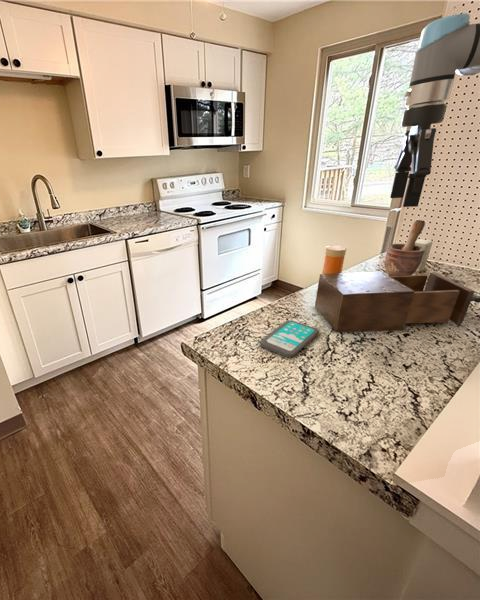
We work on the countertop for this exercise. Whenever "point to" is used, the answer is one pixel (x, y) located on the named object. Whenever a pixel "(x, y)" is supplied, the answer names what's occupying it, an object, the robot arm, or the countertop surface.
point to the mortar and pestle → (405, 254)
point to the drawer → (437, 298)
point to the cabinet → (363, 301)
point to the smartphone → (289, 338)
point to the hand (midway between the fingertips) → (402, 202)
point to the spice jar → (334, 259)
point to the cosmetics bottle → (427, 246)
